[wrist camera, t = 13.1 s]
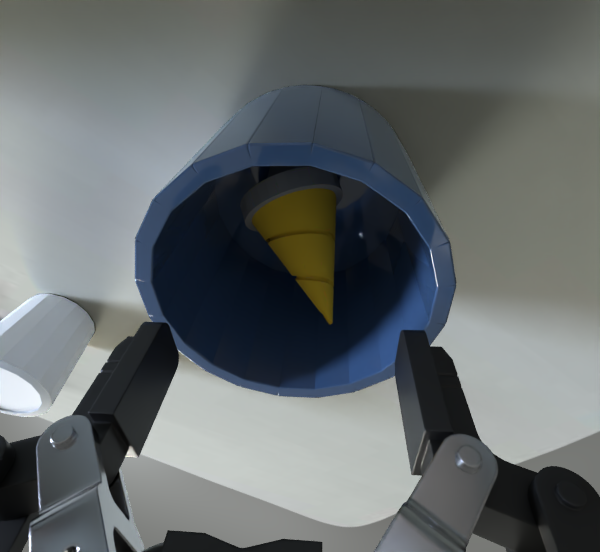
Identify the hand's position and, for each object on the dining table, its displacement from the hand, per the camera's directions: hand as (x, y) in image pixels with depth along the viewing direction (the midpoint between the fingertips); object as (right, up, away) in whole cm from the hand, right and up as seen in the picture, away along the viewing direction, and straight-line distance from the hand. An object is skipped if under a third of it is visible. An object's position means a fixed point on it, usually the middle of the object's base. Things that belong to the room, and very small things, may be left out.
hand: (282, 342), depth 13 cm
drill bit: (+1, +7, +9) cm, 11 cm away
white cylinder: (-19, -1, +18) cm, 27 cm away
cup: (+1, +7, +10) cm, 12 cm away
